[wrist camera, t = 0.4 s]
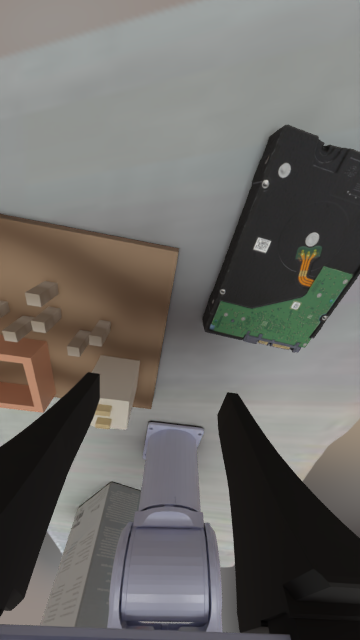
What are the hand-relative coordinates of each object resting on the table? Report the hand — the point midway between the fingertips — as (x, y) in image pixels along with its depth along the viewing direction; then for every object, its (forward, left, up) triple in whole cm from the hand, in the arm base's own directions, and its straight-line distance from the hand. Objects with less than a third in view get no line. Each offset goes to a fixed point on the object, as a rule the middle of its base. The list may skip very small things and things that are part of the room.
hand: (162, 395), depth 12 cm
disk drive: (+7, -9, -11) cm, 15 cm away
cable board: (-3, +10, -10) cm, 15 cm away
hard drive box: (-45, +5, -10) cm, 47 cm away
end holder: (-8, +15, -8) cm, 19 cm away
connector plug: (-7, +4, -8) cm, 12 cm away
